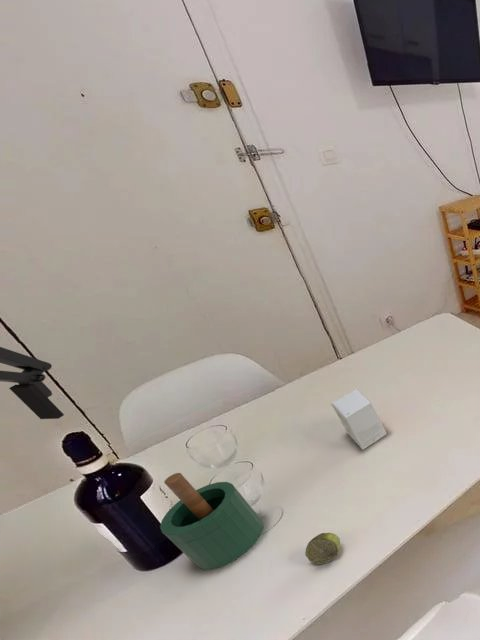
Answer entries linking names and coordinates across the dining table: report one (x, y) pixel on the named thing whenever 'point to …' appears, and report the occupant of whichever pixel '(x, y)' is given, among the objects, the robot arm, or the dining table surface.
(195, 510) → the brown and grey pestle
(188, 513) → the green tube ring
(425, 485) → the dining table surface
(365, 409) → the small box
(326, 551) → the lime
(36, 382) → the robot arm
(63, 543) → the dining table surface
